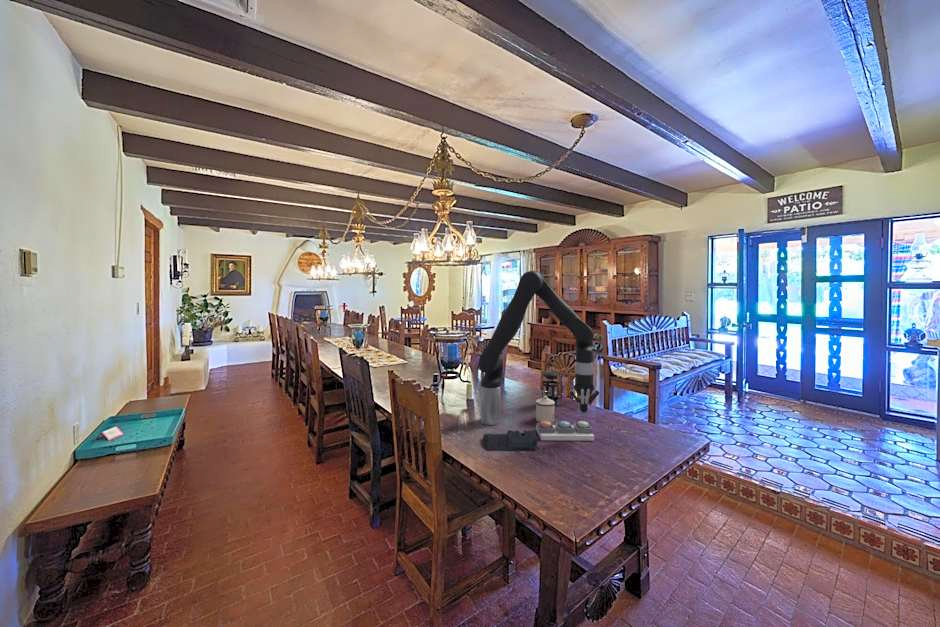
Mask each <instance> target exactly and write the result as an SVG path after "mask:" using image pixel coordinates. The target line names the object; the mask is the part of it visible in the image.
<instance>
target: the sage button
mask: <svg viewBox="0 0 940 627" xmlns="http://www.w3.org/2000/svg"><path fill="white" fill-rule="evenodd" d="M577 423H578V428H588V424H589V422H588V421H584V420H579V421H577Z"/></svg>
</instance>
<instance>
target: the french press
mask: <svg viewBox="0 0 940 627" xmlns="http://www.w3.org/2000/svg"><path fill="white" fill-rule="evenodd" d="M546 365H549V367H550V368H549V371H544V372H543V371H542V373H541V375H542V376H543V377H545V378H546V379H547V380H542V381H541V398H543V396H547V397H548V398H549V399H550V400H553V401H554V402H555V405H554V408H556V407H559V405H560V404H559V400H562V398H563V397H562V396H563V395H562V394H563V383H562V382H561V381H560V382H559V381H557V380H558V379H559V376H560V373H558V372H555V371H554V372H553V371H552V370H551V369H552V365H555V362H552V361H548V362H546ZM544 387H545V390H544ZM555 389H556V390H555ZM559 389H560V390H559ZM559 392H560V393H559Z"/></svg>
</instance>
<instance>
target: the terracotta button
mask: <svg viewBox="0 0 940 627" xmlns="http://www.w3.org/2000/svg"><path fill="white" fill-rule="evenodd" d="M540 423H541V425H540V427H541V428H551V422H549V421H541V422H540Z"/></svg>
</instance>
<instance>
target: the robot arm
mask: <svg viewBox="0 0 940 627" xmlns="http://www.w3.org/2000/svg"><path fill="white" fill-rule="evenodd" d="M535 295H536V296H537V297H538V298H540V299H541V300H542V301H543V302H544V303H545V305H546V306H547V307H548V309H549V310H550V311H551V313H552V314H553V315H554V317H556V318H557V320H558V321H559V322H561V324H562V325H563V326H565V328H567V329H568V330H569V331H570V332H571V334H573V336H574V337H575V342H576V343H575V344H576V349H575V365H574V385H573V388H572V389H569V390H568V393H569V394H570V395H571V397H573V399H574V401H575V402H576V403H578V404H579V411H580V412H581V413H582V414H583V413H587V411H588V407H589V406H588V404H592V403H593V402H594V400H596V398H597V397H598V396H599V394H600V391H599V390H597V389H596V388H595V386H594V372H595V371H594V351H593V339H594V336H595V334H594V333H595V332H594V331H593V329H592V328H591V326H589V325H588V324H587V323H586V322H584V321H583V320H582V319H581V318H580V317H579V315H578V314H577V313H576V312H575V311H574V310H573V309H572V307H570V306H569V305H568V304H567V303H566V302H565V301H564V300H563V299H562V298H561V297H560V296H559V295H558V294H557V293H556V292H555V291H554V290H553V289H552V287H551V286H550V285H549V283H548V282H547V281H546V279H545V278H544V276H543V275H542V273H541V272H539V271H537V270H528V271H526V272H524V273H523V274H522V276H520V279H519V282H518V284H517V287H516V289H515V292H514V294H513V296H512V298H511V300H510V302H509V303H508V305H507V307H506V308H505V310H504V311H503V314H502V315H501V317H500V320H499V321H498V323H497V326H496V328H495V329H494V331H493V333H492V336H491V338H490V340H489V342H488V344H487V345H486V347H485V348H484V349H483V352H482V353H481V355H480V356H479V358H478V362H477V363H478V369H479V370H480V371H481V372H482V373H484V374H483V377H482V378H481V380H480V424H481V425H482V424H483V425H488V426H496V425H499V424H500V423H501V404H502V402H501V396H502V395H501V392H502V388H501V386H502V380H503V373H504V360H503V357H502V355H501V354H502V352H503V350H504V349H505V348H506V347H507V346H508V344H509V343H510V342H511V341H512V340H513V338H514V337H516V335H517V333H518V331H519V329H520V328H521V326H522V323H523V321H524V319H525V315H526V312H527V309H528V306H529V304H530V303H531V301H532V299H533V297H534V296H535ZM576 393H577V394H578V396H576Z"/></svg>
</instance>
